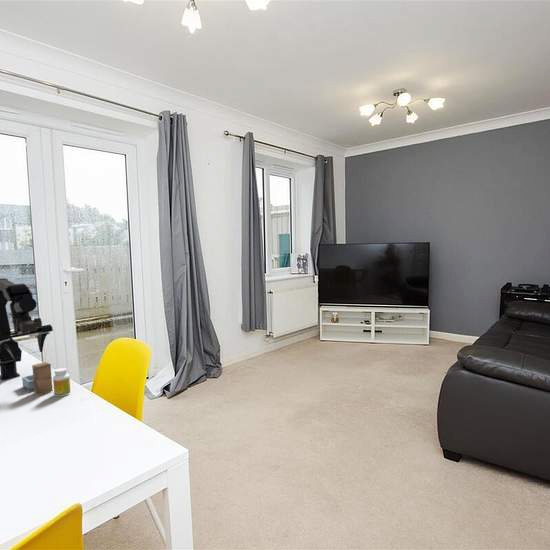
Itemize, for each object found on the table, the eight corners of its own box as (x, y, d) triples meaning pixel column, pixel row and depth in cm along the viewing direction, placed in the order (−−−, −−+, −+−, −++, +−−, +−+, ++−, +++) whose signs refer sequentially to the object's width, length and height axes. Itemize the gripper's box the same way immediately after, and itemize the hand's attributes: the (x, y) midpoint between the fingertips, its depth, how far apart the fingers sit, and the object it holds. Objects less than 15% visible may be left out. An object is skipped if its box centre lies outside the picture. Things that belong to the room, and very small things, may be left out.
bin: (22, 386, 152) (22, 377, 151) (43, 381, 157) (42, 372, 157) (28, 391, 147) (28, 381, 147) (49, 385, 152) (48, 376, 152)
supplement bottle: (65, 397, 142) (63, 372, 140) (51, 397, 142) (49, 372, 141) (73, 391, 147) (71, 367, 146) (59, 391, 147) (57, 367, 146)
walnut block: (34, 392, 146) (32, 365, 145) (46, 388, 150) (44, 361, 148) (40, 395, 143) (38, 367, 142) (52, 391, 147) (50, 363, 146)
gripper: (-2, 317, 135) (6, 360, 134) (54, 308, 149) (61, 347, 148) (-11, 321, 142) (-3, 362, 141) (44, 312, 156) (51, 349, 155)
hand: (28, 355), depth 146 cm, fingers open, 9 cm apart
